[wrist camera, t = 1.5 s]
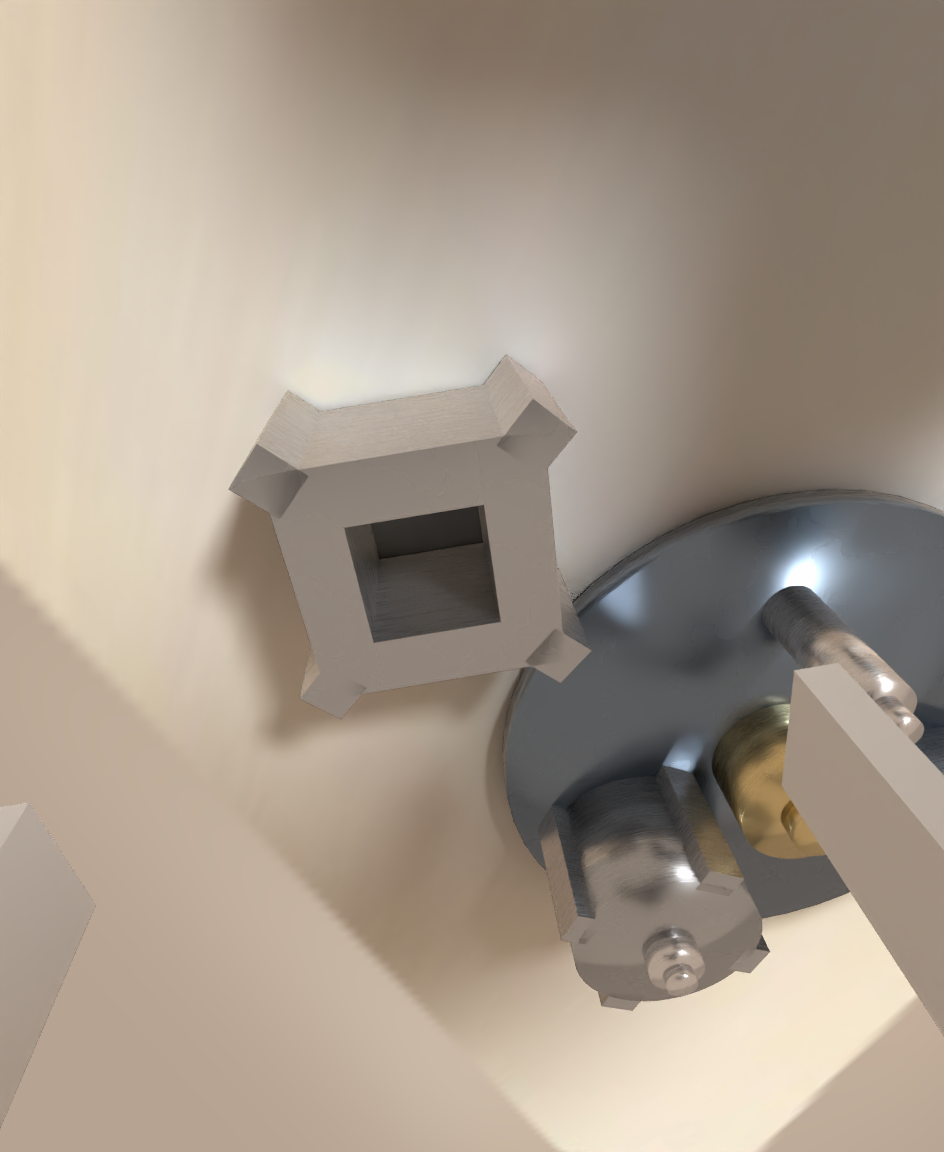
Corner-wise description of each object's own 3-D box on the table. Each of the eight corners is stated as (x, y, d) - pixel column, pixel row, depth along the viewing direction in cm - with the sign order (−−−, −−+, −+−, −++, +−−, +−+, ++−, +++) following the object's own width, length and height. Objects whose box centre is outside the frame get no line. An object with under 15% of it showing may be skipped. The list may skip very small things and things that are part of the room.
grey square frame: (255, 395, 21) (215, 450, 16) (538, 349, 21) (574, 391, 16) (325, 630, 25) (308, 724, 21) (560, 592, 25) (593, 677, 21)
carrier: (667, 397, 22) (784, 489, 15) (1146, 595, 27) (1386, 727, 21) (426, 854, 31) (431, 1037, 24) (818, 932, 37) (911, 1099, 30)
